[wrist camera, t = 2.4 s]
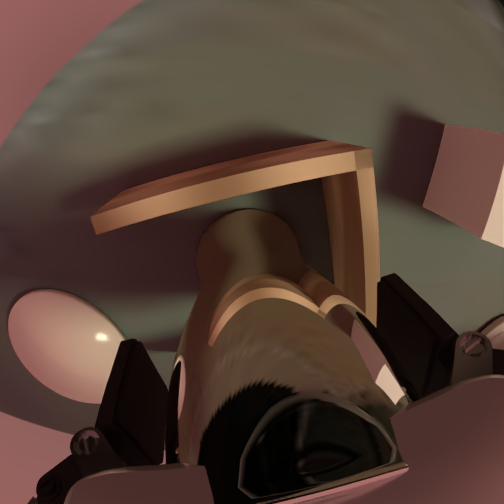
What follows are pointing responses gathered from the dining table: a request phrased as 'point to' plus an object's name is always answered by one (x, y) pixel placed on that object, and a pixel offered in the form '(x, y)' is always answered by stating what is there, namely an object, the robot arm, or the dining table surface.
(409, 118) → the dining table surface
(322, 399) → the beer glass
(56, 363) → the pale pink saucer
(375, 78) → the dining table surface
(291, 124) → the dining table surface
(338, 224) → the wooden u-shaped bracket
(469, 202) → the pale pink cube
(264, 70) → the dining table surface
